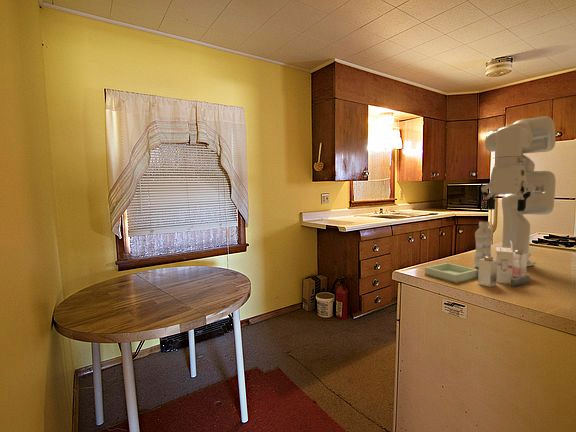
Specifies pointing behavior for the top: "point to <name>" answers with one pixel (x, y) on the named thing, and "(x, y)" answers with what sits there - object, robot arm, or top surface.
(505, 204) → the robot arm
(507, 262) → the ink cartridge box
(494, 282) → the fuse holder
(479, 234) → the plastic bottle
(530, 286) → the top surface
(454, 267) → the tray
